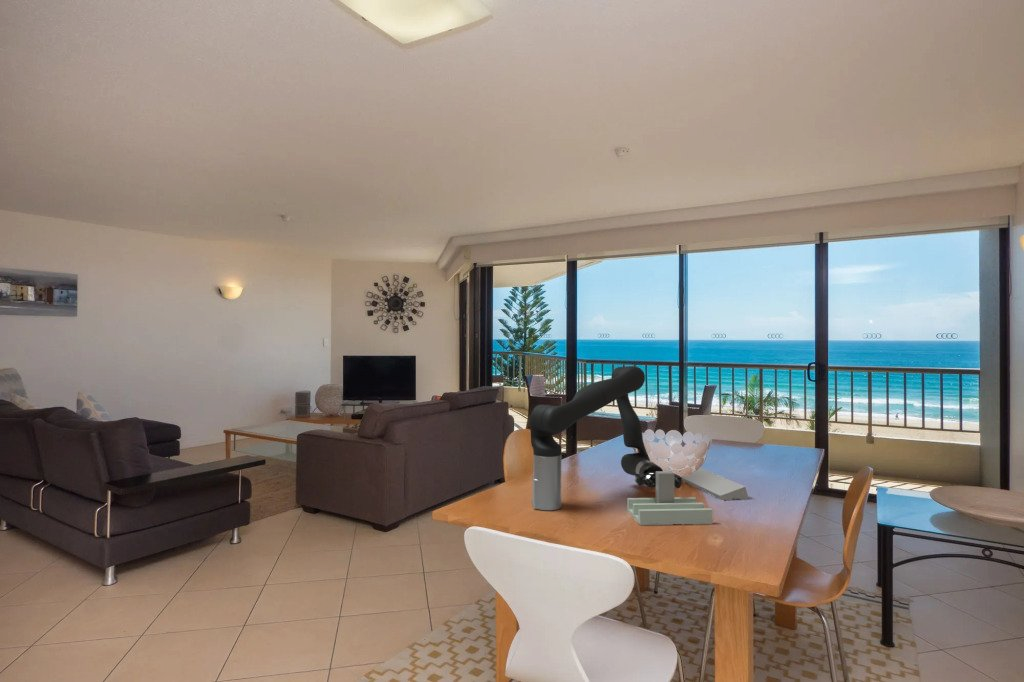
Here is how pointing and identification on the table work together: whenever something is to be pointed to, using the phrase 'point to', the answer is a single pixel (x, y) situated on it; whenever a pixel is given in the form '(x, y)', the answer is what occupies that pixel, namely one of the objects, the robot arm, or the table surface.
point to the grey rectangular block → (664, 487)
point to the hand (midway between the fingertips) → (665, 485)
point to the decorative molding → (716, 485)
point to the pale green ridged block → (669, 511)
